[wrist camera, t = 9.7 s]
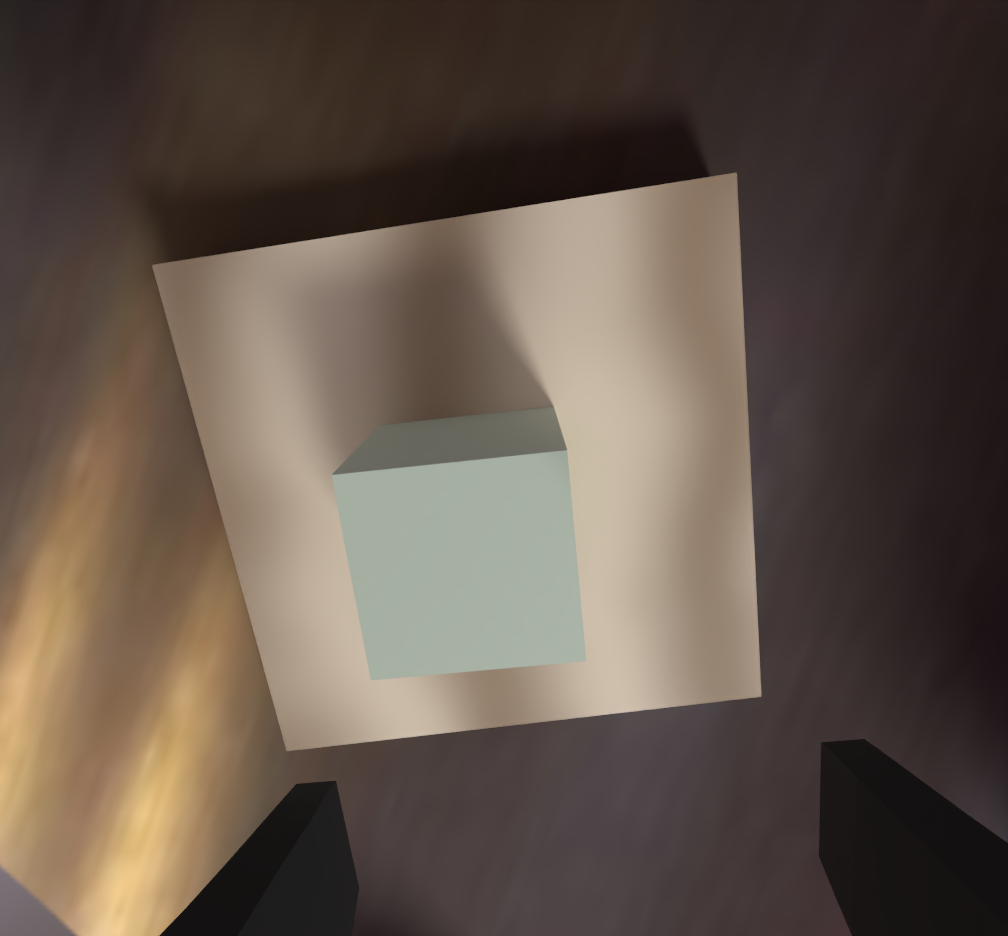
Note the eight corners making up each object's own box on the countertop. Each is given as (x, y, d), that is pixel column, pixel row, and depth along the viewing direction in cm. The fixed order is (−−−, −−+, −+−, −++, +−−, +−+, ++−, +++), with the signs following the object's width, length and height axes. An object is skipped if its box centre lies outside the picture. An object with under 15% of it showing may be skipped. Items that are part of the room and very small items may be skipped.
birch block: (706, 187, 17) (736, 172, 15) (733, 649, 21) (761, 696, 19) (200, 267, 18) (152, 265, 16) (311, 699, 22) (287, 751, 20)
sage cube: (554, 406, 17) (567, 449, 12) (569, 568, 18) (586, 661, 13) (378, 425, 17) (331, 475, 12) (405, 584, 18) (371, 680, 14)
